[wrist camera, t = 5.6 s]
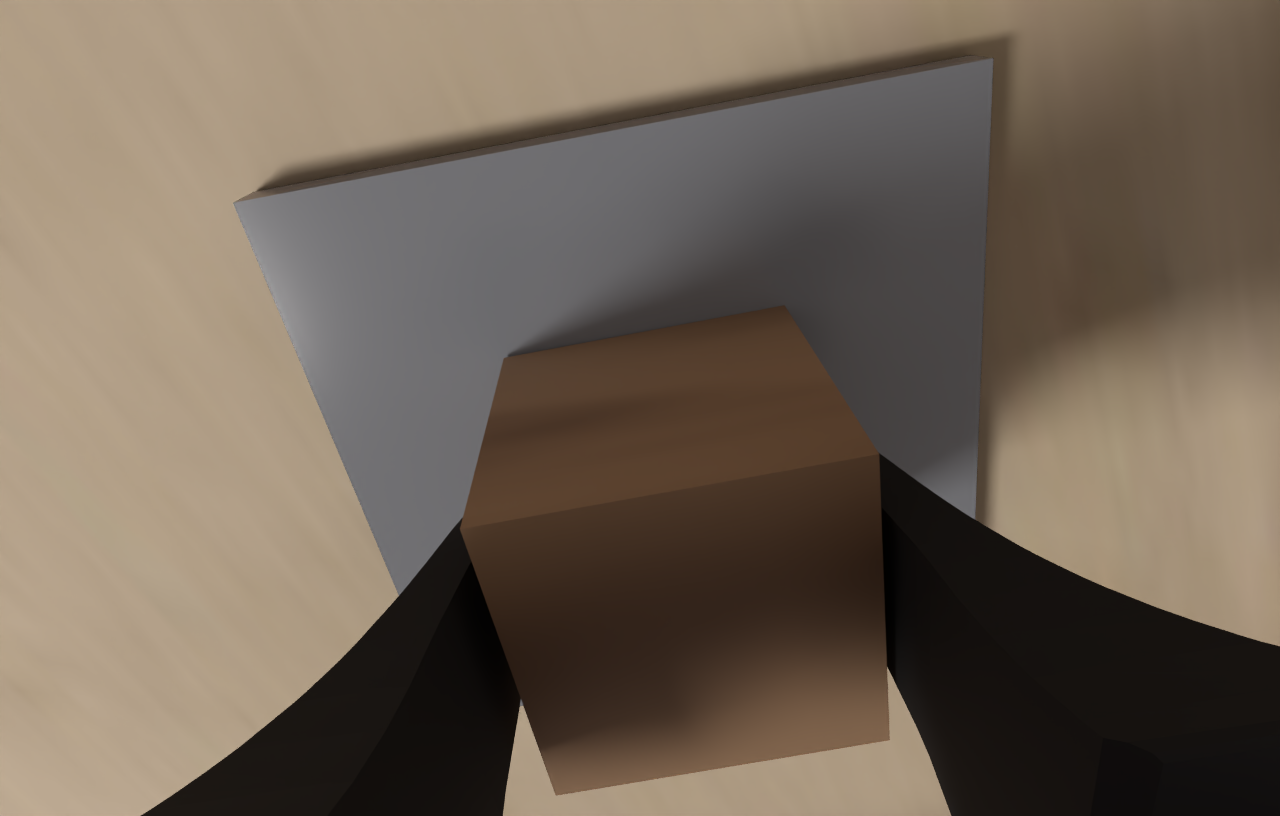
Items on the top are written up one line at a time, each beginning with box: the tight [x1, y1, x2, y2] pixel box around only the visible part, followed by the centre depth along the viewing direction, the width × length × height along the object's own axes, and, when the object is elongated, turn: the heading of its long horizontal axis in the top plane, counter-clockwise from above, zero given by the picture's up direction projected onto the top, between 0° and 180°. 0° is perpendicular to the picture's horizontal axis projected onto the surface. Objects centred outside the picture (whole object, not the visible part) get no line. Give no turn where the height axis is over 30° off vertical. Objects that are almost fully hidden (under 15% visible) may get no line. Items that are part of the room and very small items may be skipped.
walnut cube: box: [460, 305, 890, 795], centre depth 12 cm, size 5×5×5 cm
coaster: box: [233, 55, 993, 706], centre depth 15 cm, size 12×12×1 cm
